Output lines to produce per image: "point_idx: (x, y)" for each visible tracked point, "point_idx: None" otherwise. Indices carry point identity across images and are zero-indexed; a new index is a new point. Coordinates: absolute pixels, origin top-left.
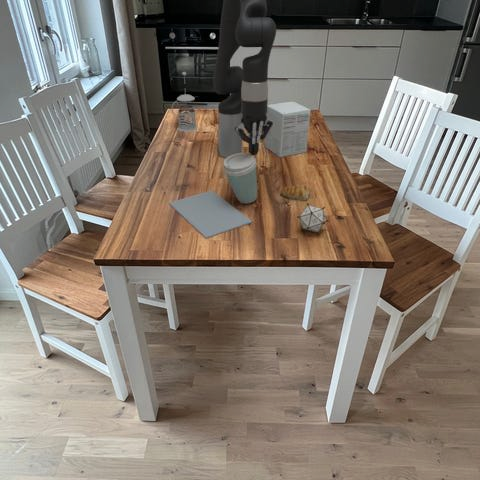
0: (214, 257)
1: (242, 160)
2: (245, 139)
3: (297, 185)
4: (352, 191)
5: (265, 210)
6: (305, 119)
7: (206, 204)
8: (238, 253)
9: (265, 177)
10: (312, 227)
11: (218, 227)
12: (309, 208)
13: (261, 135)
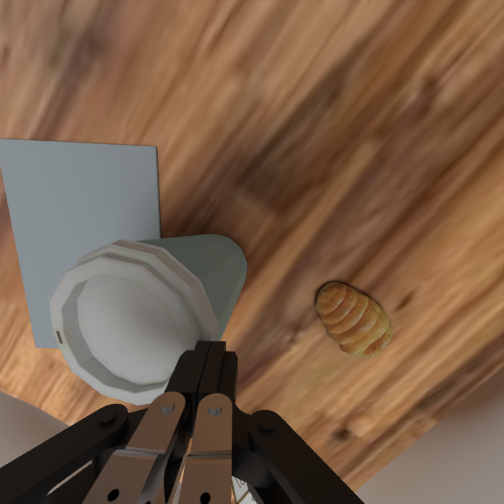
0: (30, 402)
1: (146, 336)
2: (59, 502)
3: (366, 326)
4: (478, 377)
5: (227, 327)
6: None
7: (99, 219)
8: (79, 415)
9: (368, 169)
10: None
11: None
12: (248, 491)
13: (258, 486)
